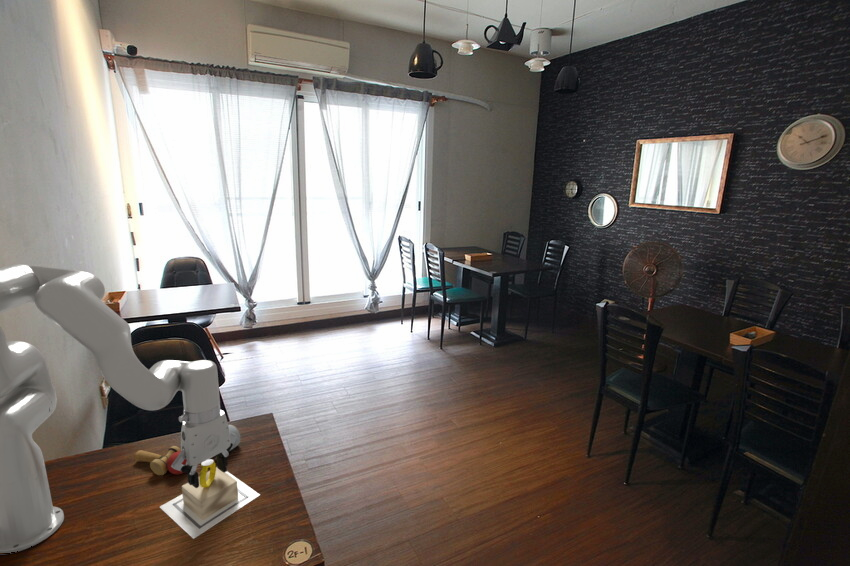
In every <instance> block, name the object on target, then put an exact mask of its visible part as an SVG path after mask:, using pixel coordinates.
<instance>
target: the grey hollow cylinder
mask: <svg viewBox="0 0 850 566" xmlns="http://www.w3.org/2000/svg"><path fill="white" fill-rule="evenodd" d="M228 427H229V432H231V433H233V434H235V435H237V439H236V440H235V442H234V443H233V446H232V448H231V449H230V451H229V452H231V451H232V450H233V449H236V448H237V447H238V446H239V444H240V443H241V440H242V434H241V430H239V428H238V427H237V426H236V425H235V424H228ZM214 460H217V457H216V456H215V458H214Z"/></svg>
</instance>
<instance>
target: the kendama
mask: <svg viewBox="0 0 850 566" xmlns="http://www.w3.org/2000/svg"><path fill="white" fill-rule="evenodd" d="M180 452H181V447H179V446H177V445H172V446H170V447H169V448H168V452H167V454H165V455H162V454H158V453H155V452H151V451H150V452H149V451H145V450H142V449H140V450H137V451H136V452H135V453H134V456H133V459H134V461H135V462H143V463H146V462H147V463H149V467H150V469H151V471H152V472H153V473H154V474H155V475H157V476H164V475H165V474H166V473H168V472H169V473H171V474H173V475H181V474H183V473H184V472H182V471H179V470H175V469H174V468H172V467H171V465H172V463H173V462H174V461H175V459H176V458H177V456H178V455H179V453H180ZM186 462H187V459H184V461H183V462H182V464H184V465H186ZM184 474H185V473H184Z"/></svg>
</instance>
